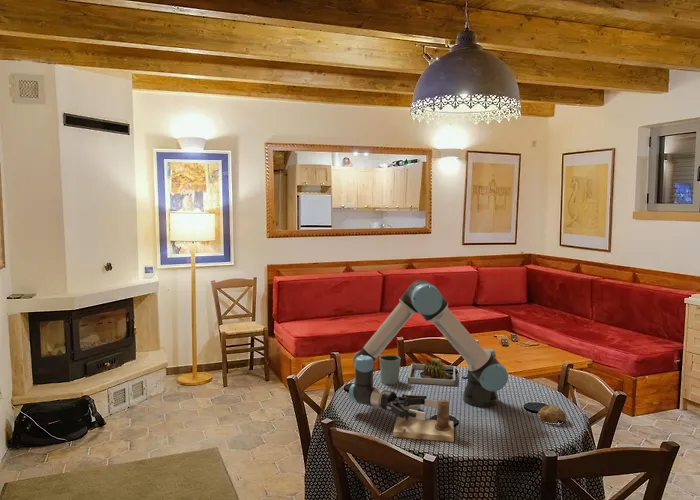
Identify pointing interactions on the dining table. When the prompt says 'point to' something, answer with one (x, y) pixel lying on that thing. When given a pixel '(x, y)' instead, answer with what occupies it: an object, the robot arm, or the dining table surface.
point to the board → (421, 429)
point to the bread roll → (552, 414)
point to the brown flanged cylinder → (443, 416)
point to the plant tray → (429, 380)
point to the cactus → (435, 370)
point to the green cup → (389, 369)
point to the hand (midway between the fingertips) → (432, 410)
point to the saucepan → (413, 407)
